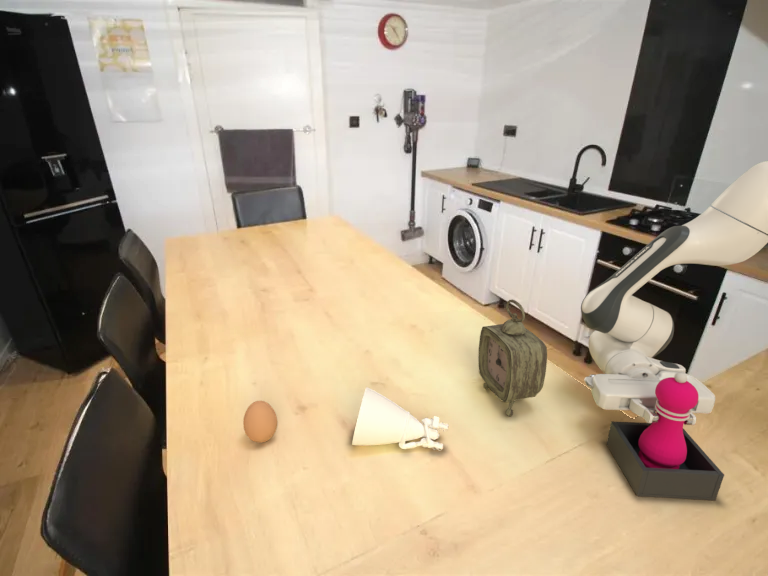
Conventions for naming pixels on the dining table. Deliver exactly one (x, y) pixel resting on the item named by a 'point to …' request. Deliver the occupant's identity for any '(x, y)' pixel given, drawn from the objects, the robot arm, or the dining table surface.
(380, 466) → the dining table surface
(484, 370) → the tabletop clock
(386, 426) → the rocket engine
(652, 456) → the pepper mill
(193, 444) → the dining table surface
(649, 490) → the bin
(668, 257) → the robot arm
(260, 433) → the egg
